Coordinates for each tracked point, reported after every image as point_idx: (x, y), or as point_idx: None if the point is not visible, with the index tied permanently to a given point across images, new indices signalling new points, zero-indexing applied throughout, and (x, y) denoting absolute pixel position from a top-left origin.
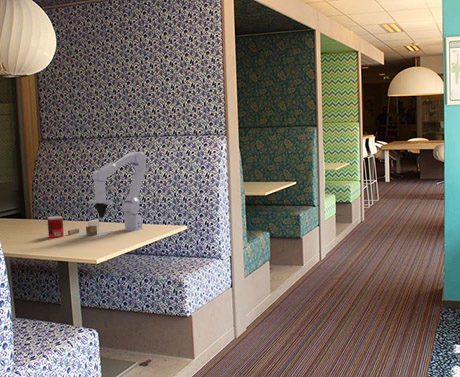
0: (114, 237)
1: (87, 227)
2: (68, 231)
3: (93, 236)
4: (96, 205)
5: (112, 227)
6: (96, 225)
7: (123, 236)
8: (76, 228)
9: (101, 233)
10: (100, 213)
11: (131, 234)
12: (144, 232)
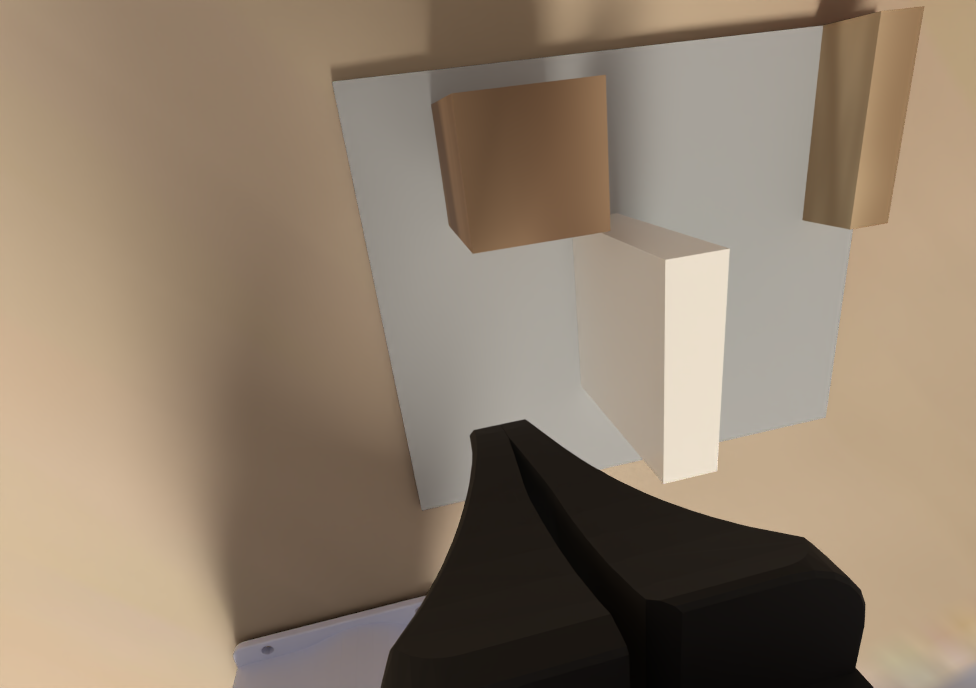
0: (64, 254)
1: (561, 81)
2: (900, 10)
3: (397, 101)
4: (731, 612)
5: None
6: (620, 376)
7: (20, 377)
8: (887, 214)
9: (480, 332)
10: (496, 473)
11: (75, 520)
12: (61, 669)
